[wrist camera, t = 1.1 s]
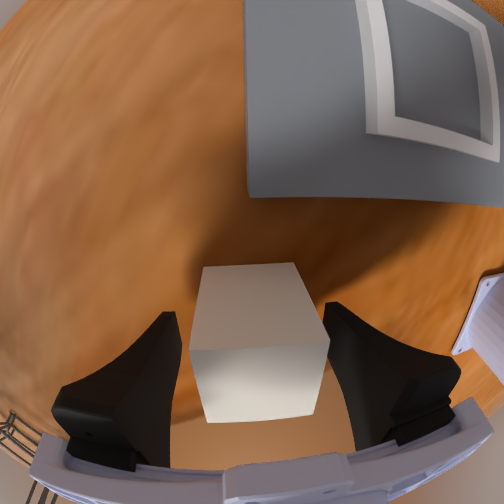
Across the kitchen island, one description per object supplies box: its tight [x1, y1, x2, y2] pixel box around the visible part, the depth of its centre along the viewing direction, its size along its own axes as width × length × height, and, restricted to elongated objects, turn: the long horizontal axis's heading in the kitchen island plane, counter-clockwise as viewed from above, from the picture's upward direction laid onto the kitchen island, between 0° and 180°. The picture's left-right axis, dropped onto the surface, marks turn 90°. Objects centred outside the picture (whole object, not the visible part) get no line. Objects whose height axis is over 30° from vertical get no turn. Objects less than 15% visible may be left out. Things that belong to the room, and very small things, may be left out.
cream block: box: [189, 262, 330, 423], centre depth 12 cm, size 4×4×6 cm
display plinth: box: [243, 0, 504, 208], centre depth 8 cm, size 18×14×3 cm
